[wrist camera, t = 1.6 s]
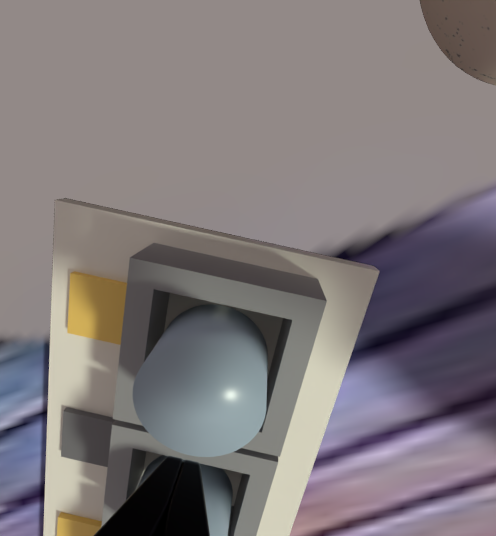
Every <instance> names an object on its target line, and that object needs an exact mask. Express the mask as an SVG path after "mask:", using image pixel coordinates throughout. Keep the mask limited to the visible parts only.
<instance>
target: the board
mask: <svg viewBox="0 0 496 536" xmlns="http://www.w3.org/2000/svg"><path fill="white" fill-rule="evenodd" d="M379 272H380V271H379V270H378V269H377V268H376V267H375V266H371V265H367V264H362V263H358V262H353V261H349V260H344V259H340V258H335V257H331V256H326V255H322V254H317V253H312V252H308V251H303V250H299V249H294V248H290V247H285V246H280V245H276V244H271V243H267V242H262V241H257V240H253V239H249V238H244V237H240V236H235V235H231V234H226V233H222V232H217V231H212V230H208V229H203V228H198V227H194V226H190V225H185V224H180V223H176V222H171V221H167V220H162V219H158V218H153V217H149V216H144V215H140V214H135V213H130V212H126V211H122V210H117V209H113V208H108V207H103V206H99V205H94V204H90V203H85V202H81V201H76V200H71V199H67V198H64V199H57V200H55V209H54V238H53V268H52V297H51V298H52V299H51V326H50V355H49V385H48V414H47V443H46V472H45V502H44V531H43V536H94V535H95V533H96V532H97V531H98V530H99V529H100V528H101V527H102V526H103V525H104V524H105V523H106V522H107V521H108V520H109V518H110V517H111V516H112V515H113V514H114V513H115V512H116V511H117V510H118V509H119V508H120V507H121V506H122V504H123V503H124V502H125V501H126V500H127V499H128V498H129V497H130V496H131V495H132V494H133V493H134V492H135V490H136V489H137V487H138V485H139V483H140V480H141V478H142V476H143V473H144V471H145V469H146V468H147V466H148V465H149V464H150V463H151V462H152V461H153V460H155V459H156V458H158V457H160V456H162V455H165V456H174V457H178V458H182V459H183V460H191V461H195V462H199V463H200V464H205V465H209V466H213V467H218V468H222V469H223V470H224V471H225V473H226V474H227V476H228V477H229V479H230V481H231V484H232V489H233V496H232V505H231V513H230V521H229V529H228V536H289V535H290V532H291V529H292V526H293V523H294V520H295V517H296V514H297V511H298V508H299V505H300V503H301V500H302V497H303V494H304V491H305V488H306V485H307V482H308V479H309V476H310V473H311V470H312V468H313V465H314V462H315V459H316V456H317V453H318V450H319V447H320V444H321V441H322V438H323V435H324V433H325V430H326V427H327V424H328V421H329V418H330V415H331V412H332V409H333V406H334V403H335V400H336V398H337V395H338V392H339V389H340V386H341V383H342V380H343V377H344V374H345V371H346V368H347V365H348V363H349V360H350V357H351V354H352V351H353V348H354V345H355V342H356V339H357V336H358V333H359V330H360V328H361V325H362V322H363V319H364V316H365V313H366V310H367V307H368V304H369V301H370V298H371V295H372V292H373V290H374V287H375V284H376V281H377V278H378V275H379ZM208 304H212V305H222V306H226V307H230V308H233V309H235V310H237V311H239V312H241V313H243V314H244V315H246V316H247V317H248V318H250V319H251V320H252V321H253V322H254V323H255V324H256V325H257V327H258V328H259V329H260V331H261V333H262V334H263V336H264V339H265V341H266V345H267V350H268V366H267V401H266V414H265V419H264V422H263V424H262V426H261V428H260V430H259V432H258V433H257V434H256V436H255V437H254V438H253V439H252V440H251V441H250V442H249V443H248V444H246V445H245V446H243V447H242V448H240V449H238V450H236V451H234V452H232V453H229V454H225V455H222V456H215V457H196V456H191V455H186V454H183V453H179V452H177V451H174V450H172V449H170V448H168V447H166V446H165V445H163V444H162V443H160V442H159V441H157V440H156V439H155V438H154V437H153V436H152V435H151V434H150V433H149V432H148V431H147V430H146V429H145V428H144V426H143V425H142V423H141V422H140V420H139V418H138V416H137V414H136V411H135V408H134V404H133V385H134V381H135V378H136V375H137V373H138V371H139V370H140V368H141V366H142V365H143V363H144V362H145V360H146V359H147V357H148V356H149V354H150V353H151V351H152V350H153V348H154V347H155V345H156V344H157V342H158V341H159V339H160V338H161V336H162V335H163V333H164V332H165V330H166V329H167V327H168V326H169V324H170V323H171V322H172V321H173V320H174V319H175V318H176V317H177V316H178V315H179V314H181V313H182V312H184V311H186V310H188V309H190V308H193V307H195V306H200V305H208Z"/></svg>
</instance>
